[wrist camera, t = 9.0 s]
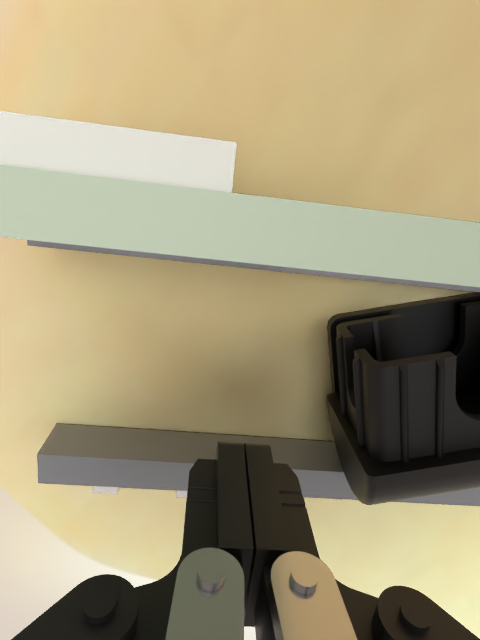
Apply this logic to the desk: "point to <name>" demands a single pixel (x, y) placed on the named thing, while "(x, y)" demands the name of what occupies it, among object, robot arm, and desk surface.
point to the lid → (203, 207)
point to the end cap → (407, 397)
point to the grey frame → (197, 434)
